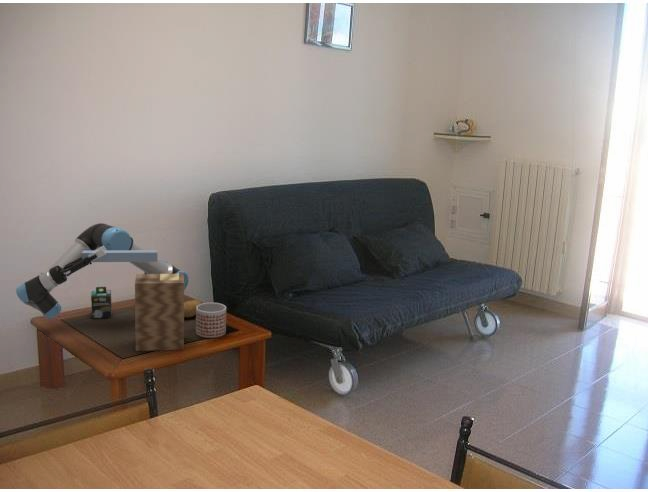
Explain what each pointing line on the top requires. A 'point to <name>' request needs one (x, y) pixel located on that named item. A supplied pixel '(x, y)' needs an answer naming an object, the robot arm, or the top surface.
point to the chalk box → (101, 303)
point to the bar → (124, 256)
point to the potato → (190, 308)
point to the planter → (211, 320)
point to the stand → (159, 312)
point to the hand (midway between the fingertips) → (104, 250)
